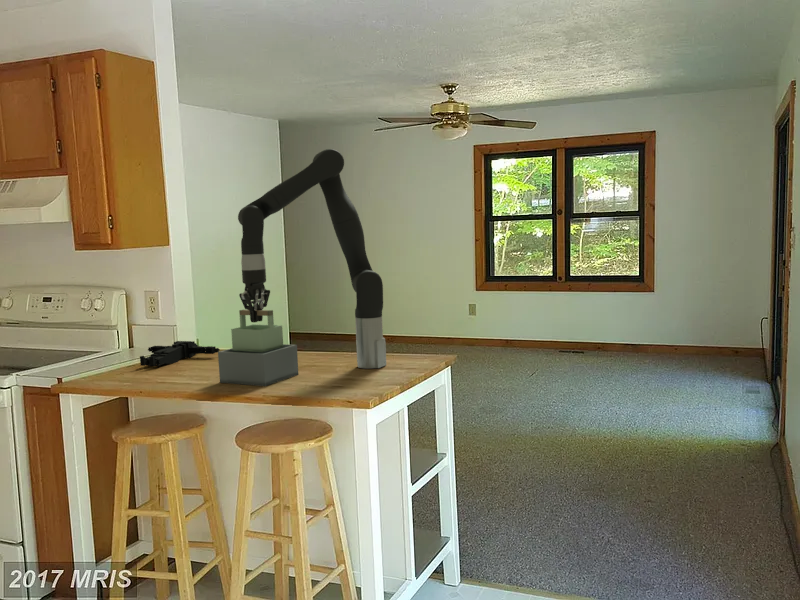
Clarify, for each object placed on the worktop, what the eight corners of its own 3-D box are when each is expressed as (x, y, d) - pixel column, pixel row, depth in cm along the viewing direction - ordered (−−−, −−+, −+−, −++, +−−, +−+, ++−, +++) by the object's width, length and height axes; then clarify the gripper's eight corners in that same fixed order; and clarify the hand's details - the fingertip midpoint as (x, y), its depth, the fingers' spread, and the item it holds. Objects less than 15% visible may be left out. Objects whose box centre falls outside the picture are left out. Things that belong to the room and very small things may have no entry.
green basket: (283, 346, 235) (281, 308, 234) (262, 352, 226) (260, 312, 224) (254, 345, 241) (251, 308, 240) (232, 350, 231) (230, 312, 230)
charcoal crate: (298, 374, 238) (296, 344, 237) (265, 386, 222) (263, 354, 221) (254, 371, 246) (253, 342, 245) (219, 382, 230) (217, 351, 229)
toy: (109, 354, 262) (158, 338, 290) (111, 371, 263) (159, 353, 291) (184, 355, 253) (226, 338, 282) (185, 373, 254) (227, 354, 283)
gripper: (249, 269, 223) (252, 325, 225) (276, 266, 235) (278, 319, 237) (230, 269, 226) (233, 324, 228) (257, 267, 238) (260, 318, 240)
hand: (256, 321), depth 232 cm, fingers closed on green basket
